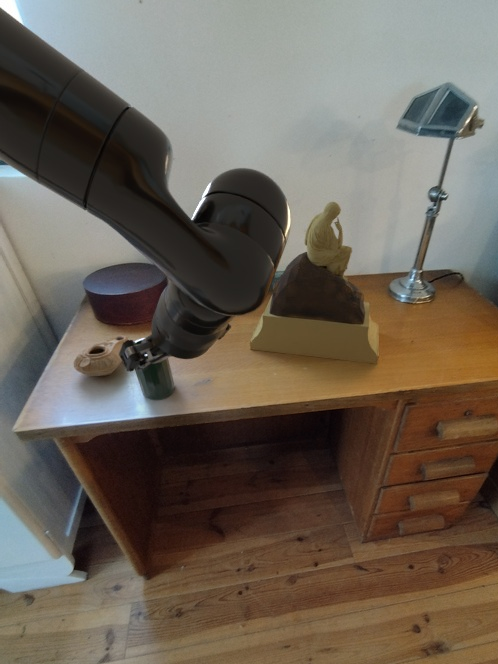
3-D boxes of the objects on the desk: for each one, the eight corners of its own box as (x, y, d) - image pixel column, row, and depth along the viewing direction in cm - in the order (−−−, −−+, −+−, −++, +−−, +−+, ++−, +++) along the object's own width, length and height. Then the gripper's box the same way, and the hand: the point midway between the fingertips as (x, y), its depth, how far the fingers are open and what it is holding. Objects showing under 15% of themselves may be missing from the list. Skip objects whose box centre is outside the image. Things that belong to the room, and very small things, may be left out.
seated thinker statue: (377, 332, 92) (403, 195, 72) (377, 363, 82) (407, 215, 62) (263, 320, 94) (258, 184, 74) (250, 349, 85) (240, 202, 65)
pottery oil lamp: (146, 351, 82) (140, 335, 76) (109, 395, 77) (99, 381, 71) (111, 331, 82) (102, 312, 76) (72, 373, 78) (59, 357, 71)
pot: (144, 403, 71) (130, 359, 64) (141, 384, 75) (127, 340, 68) (177, 395, 73) (166, 352, 66) (172, 377, 77) (161, 334, 70)
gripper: (231, 272, 46) (200, 317, 61) (111, 304, 39) (109, 347, 54) (257, 329, 47) (221, 360, 61) (143, 370, 40) (132, 395, 54)
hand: (168, 354), depth 57 cm, fingers open, 8 cm apart
